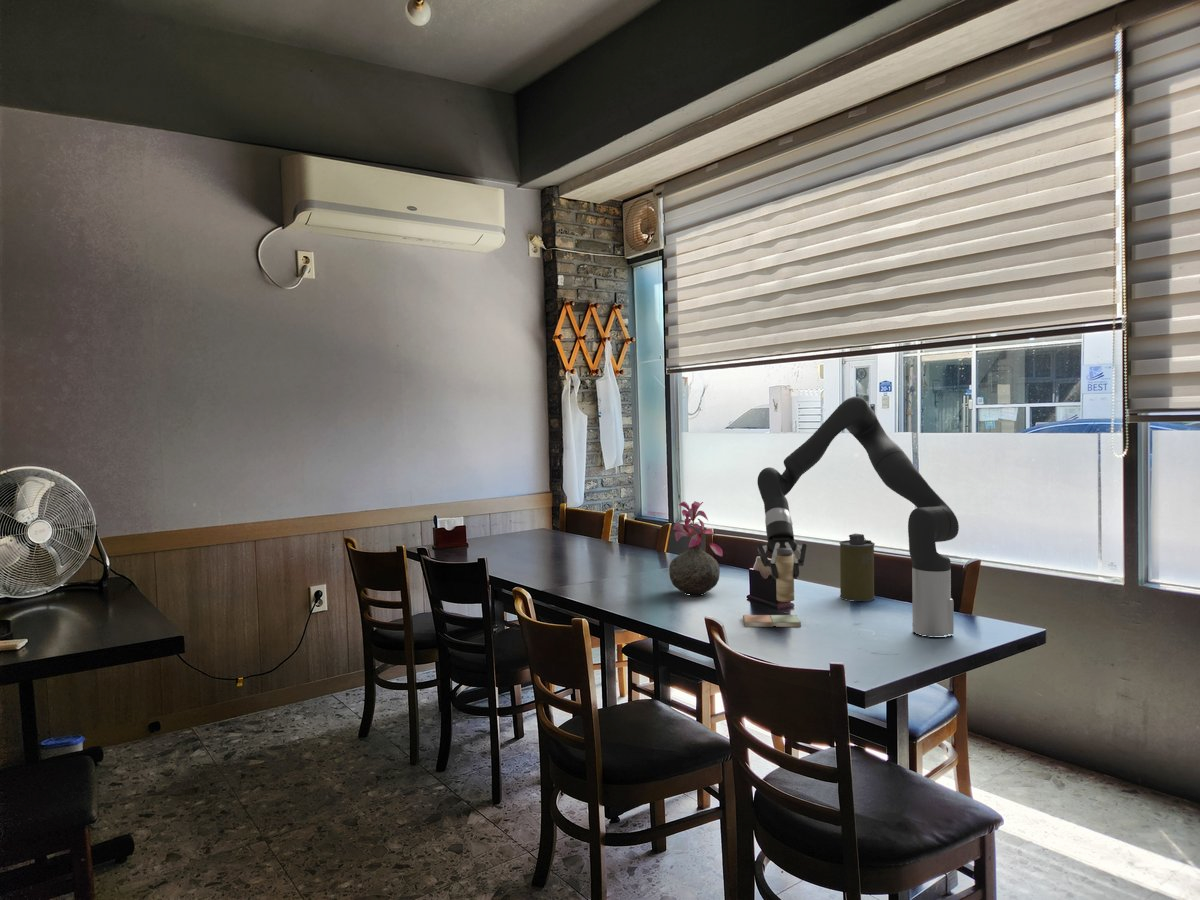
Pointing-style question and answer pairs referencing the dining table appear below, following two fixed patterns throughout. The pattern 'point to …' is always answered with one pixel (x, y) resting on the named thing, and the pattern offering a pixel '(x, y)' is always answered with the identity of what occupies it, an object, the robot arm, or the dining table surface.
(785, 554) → the pepper mill
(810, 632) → the dining table surface
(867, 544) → the canister
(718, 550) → the vase
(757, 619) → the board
